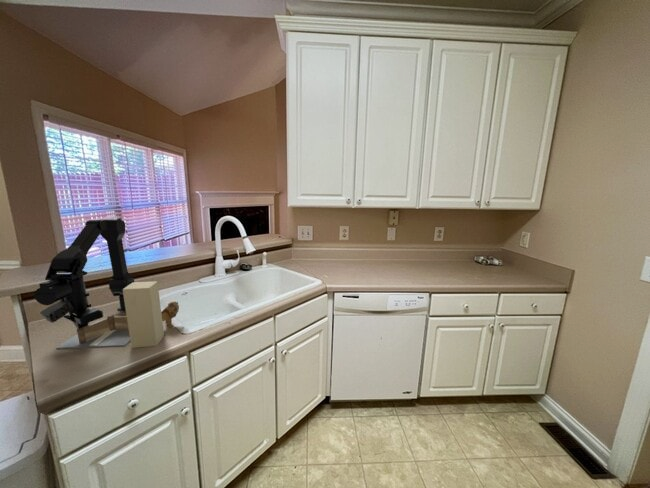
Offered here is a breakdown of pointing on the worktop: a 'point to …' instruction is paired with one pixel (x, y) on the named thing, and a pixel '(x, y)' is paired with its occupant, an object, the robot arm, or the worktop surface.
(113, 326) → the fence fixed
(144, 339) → the toy refrigerator
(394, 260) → the worktop surface
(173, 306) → the lion figurine
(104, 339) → the board
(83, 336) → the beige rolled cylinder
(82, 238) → the robot arm
